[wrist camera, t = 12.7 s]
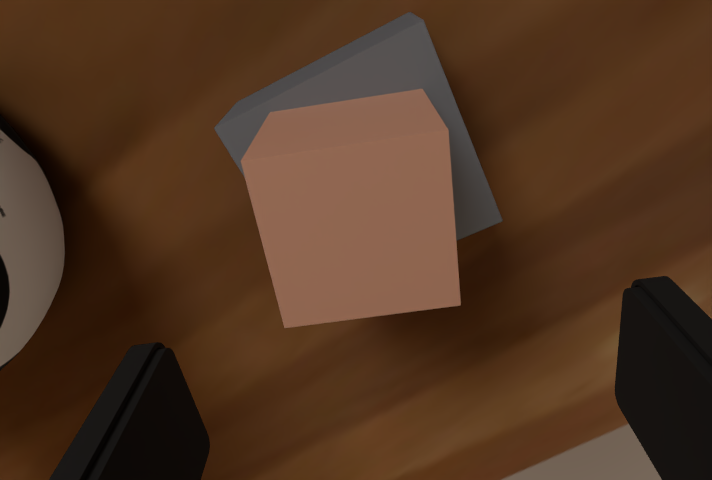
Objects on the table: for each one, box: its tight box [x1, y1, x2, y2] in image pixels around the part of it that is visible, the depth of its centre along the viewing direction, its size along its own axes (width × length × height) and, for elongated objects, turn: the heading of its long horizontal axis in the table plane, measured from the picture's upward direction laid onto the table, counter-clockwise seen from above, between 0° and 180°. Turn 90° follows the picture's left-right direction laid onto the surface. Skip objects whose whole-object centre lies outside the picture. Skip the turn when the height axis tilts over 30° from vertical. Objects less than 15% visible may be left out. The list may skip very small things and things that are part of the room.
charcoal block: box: [214, 12, 503, 241], centre depth 24 cm, size 9×9×5 cm
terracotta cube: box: [241, 89, 461, 328], centre depth 19 cm, size 6×6×6 cm
